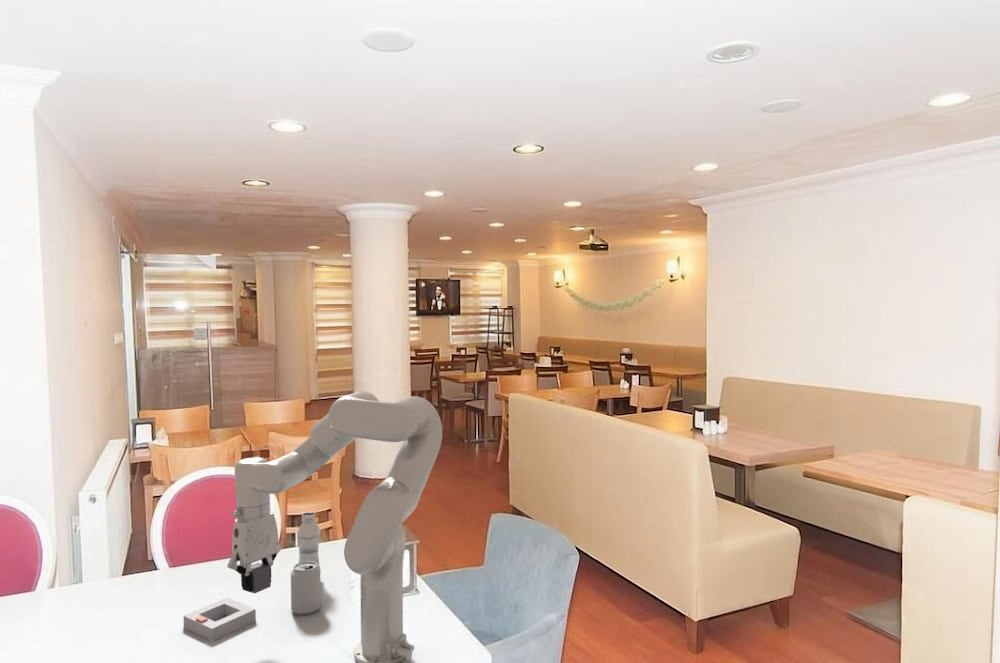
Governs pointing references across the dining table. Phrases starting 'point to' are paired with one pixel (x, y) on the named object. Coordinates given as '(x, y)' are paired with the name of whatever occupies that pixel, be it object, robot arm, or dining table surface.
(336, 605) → the dining table surface
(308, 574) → the can
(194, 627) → the socket plate
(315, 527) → the plastic bottle
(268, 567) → the plug
